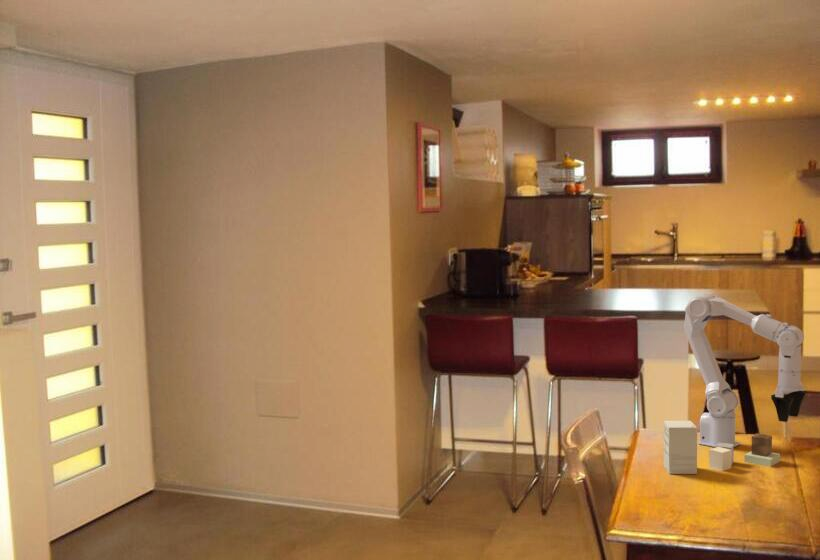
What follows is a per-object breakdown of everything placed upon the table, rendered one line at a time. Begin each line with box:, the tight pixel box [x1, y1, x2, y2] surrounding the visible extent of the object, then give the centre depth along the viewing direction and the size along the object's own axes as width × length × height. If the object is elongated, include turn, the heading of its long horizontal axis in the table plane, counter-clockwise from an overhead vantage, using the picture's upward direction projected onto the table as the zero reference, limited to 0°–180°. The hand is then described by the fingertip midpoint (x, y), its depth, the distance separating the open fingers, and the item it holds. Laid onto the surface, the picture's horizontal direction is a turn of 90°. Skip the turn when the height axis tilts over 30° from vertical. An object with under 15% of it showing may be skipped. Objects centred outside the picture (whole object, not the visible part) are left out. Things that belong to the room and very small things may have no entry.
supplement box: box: [663, 420, 698, 475], centre depth 228 cm, size 7×7×13 cm
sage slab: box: [743, 450, 781, 468], centre depth 235 cm, size 7×7×2 cm
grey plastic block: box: [715, 442, 735, 466], centre depth 234 cm, size 4×4×5 cm
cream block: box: [708, 447, 732, 472], centre depth 230 cm, size 4×4×5 cm
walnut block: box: [751, 432, 773, 457], centre depth 235 cm, size 4×4×5 cm
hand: (788, 418), depth 239 cm, fingers open, 7 cm apart
